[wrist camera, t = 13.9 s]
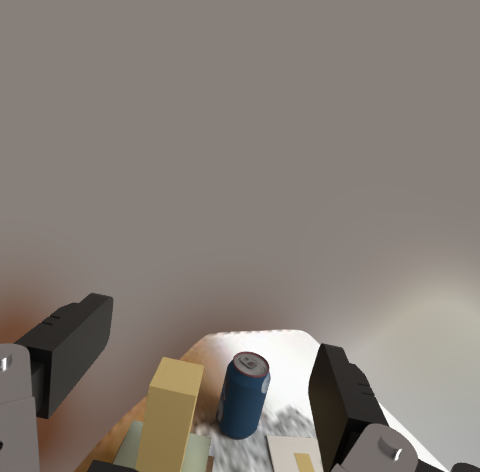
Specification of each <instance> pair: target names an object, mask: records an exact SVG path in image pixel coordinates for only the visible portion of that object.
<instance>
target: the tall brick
mask: <svg viewBox="0 0 480 472" xmlns="http://www.w3.org/2000/svg"><path fill="white" fill-rule="evenodd" d="M203 368H204V366H202V365H197V364H193V363H189V362H184V361H180V360H175V359H171V358H166V357H163V358H162V360H161V362H160V365H159V367H158V369H157V371H156V373H155V375H154V377H153V379H152V381H151V383H150V385H149V392H148V397H147V403H146V409H145V415H144V421H143V427H142V433H141V438H140V444H139V450H138V456H137V462H136V468H135V470H137V471H139V472H181V468H182V464H183V460H184V456H185V452H186V447H187V443H188V438H189V434H190V429H191V424H192V420H193V415H194V410H195V406H196V401H197V396H198V392H199V387H200V382H201V378H202V373H203Z"/></svg>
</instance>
